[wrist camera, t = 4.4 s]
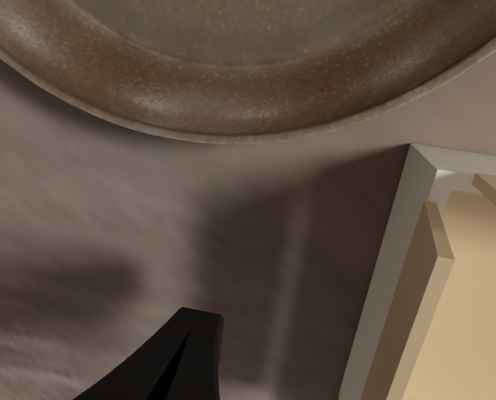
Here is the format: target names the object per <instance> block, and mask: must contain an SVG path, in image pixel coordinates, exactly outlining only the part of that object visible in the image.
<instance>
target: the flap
mask: <svg viewBox="0 0 496 400" xmlns="http://www.w3.org/2000/svg"><path fill="white" fill-rule="evenodd" d="M454 262H455V259H454V256H453V253H452V249H451V246H450V243H449V240H448V237H447V234H446V231H445V228H444V225H443V221H442V218H441V215H440V212H439V209H438V206H437V203H436V202H432V201H427V200H424V202H423V206H422V209H421V212H420V215H419V218H418V221H417V224H416V227H415V230H414V234H413V237H412V240H411V243H410V246H409V249H408V252H407V255H406V258H405V262H404V265H403V268H402V271H401V274H400V277H399V280H398V283H397V286H396V290H395V293H394V296H393V299H392V302H391V305H390V308H389V311H388V314H387V318H386V321H385V324H384V327H383V330H382V333H381V336H380V339H379V343H378V346H377V349H376V352H375V355H374V358H373V361H372V364H371V367H370V371H369V374H368V377H367V380H366V383H365V386H364V389H363V392H362V395H361V399H360V400H402V397H403V395H404V392H405V390H406V387H407V384H408V382H409V379H410V377H411V374H412V371H413V369H414V366H415V363H416V361H417V358H418V356H419V353H420V350H421V348H422V345H423V343H424V340H425V337H426V335H427V332H428V330H429V327H430V324H431V322H432V319H433V316H434V314H435V311H436V309H437V306H438V303H439V301H440V298H441V296H442V293H443V290H444V288H445V285H446V282H447V280H448V277H449V275H450V272H451V269H452V267H453V264H454Z"/></svg>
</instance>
